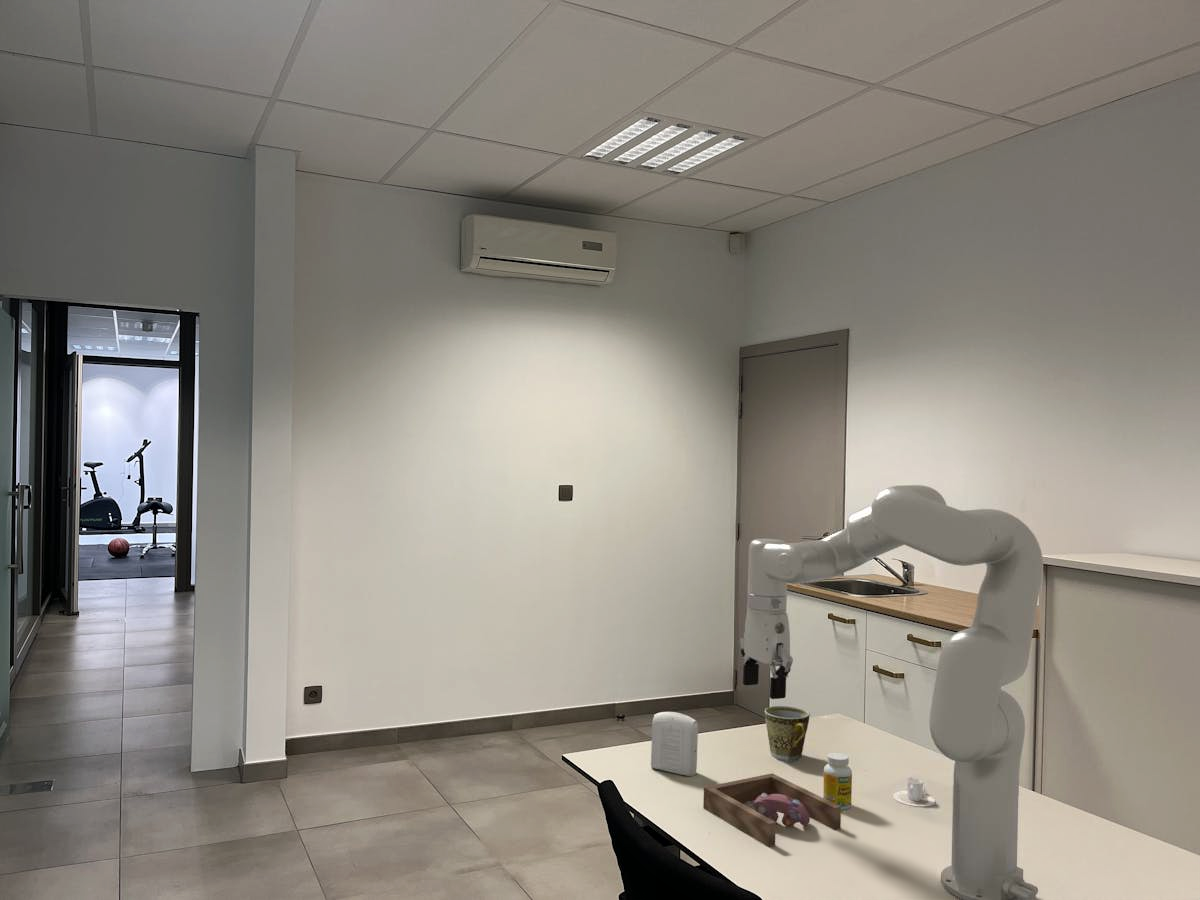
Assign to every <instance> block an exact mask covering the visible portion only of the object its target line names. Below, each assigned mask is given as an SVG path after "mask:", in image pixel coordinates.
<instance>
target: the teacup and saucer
mask: <svg viewBox="0 0 1200 900" xmlns="http://www.w3.org/2000/svg"><path fill="white" fill-rule="evenodd" d="M926 790H927V789H926V787H925V786H924V781H923V780H922V779H919V778H915V777H908V778H906V790H902V791H896V792H895V793H893V795H892V798H893V799H894V800H895V801H897V802H899V803H901V804H902V805H907V806H911V807H916V808H917V807H920V808H925V807H931V806H933V805H935V804H936V799H934V797H932V796H931V795H928V794H926ZM902 795H907V798H908V800H909V801H911V802H920V801H921V800H922V797H923V798H926V800H928V802H927V803H924V804H915V803H910V802H906V801H904V800H903V799H901V798H900V796H902Z"/></svg>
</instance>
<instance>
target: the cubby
mask: <svg viewBox="0 0 1200 900" xmlns="http://www.w3.org/2000/svg"><path fill="white" fill-rule="evenodd" d="M762 793H766V794H767V795H770V794H782V795H785V796H787V797H789V798H791V799H793V800H795V799H796V800H799V802H800V803H802V804H803V805H804V807H805V809H806V810H807V812H808V813H809V816H810V819H813V820H814V821H817V822H818V823H821V824H822V825H824V826H825V827H827V828H830V829H832V830H834V831H836V830H840V829H841V827H842V825H841V824H842V821H841V820H842V810H841V806H839V805H837V804H835V803H833V802H831V801H828V800H826V799H824V798H823V797H822V796H820V795H818V794H815V793H814V792H813V791H809V790H807V789H805V788H803V787H801V786H799V785H798V784H796V783H793V782H791V781H789V780H787V779H785V778H783V777H781V776H779V775H777V774H775V773H767V774H762V775H757V776H752V777H748V778H742V779H739V780H732V781H727V782H724V783H718V784H713V785H709V786H704V787H703V802H702V803H703V806H702V807H703V808H702V809H704V810H705V811H708V813H711V814H712V815H714V816H716V817H718V818H719V819H721V820H723V821H724V822H726V823H728V824H729V825H732V826H733V827H735V828H736V829H738V830H740V831H741V832H743V833H744V834H746V835H748V836H749V837H751V838H753V839H754V840H756V841H757V842H760V843H761V844H763V845H764V846H767V847H768V848H770V847H773V846H776V829H777V828H776V825H777V824H776V823H777V822H775V821H773V820H771V819H769V818H767V817H765V816H764V815H762V814H760V813H758V812H756V811H755V810H754V808H751V807H749V806H747V805H745V804H746V803H750V802H755V800H756V799H757V797H759V796H760V795H762Z"/></svg>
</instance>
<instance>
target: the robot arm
mask: <svg viewBox="0 0 1200 900" xmlns="http://www.w3.org/2000/svg"><path fill="white" fill-rule="evenodd" d="M845 526H846V527H845V528H844V529H842V530H841V531H838V532H835V533H834V534H832V535H829V536H827V537H825V538H822V539H819V540H812V541H800V542H791V543H788V542H786V541H784V540H781V539H778V538H777V539H775V538H756V539H753V540H751V542H750V544H749V545H748V546H749V548H748V568H747V569H748V571H747V596H746V597H747V603H746V610H747V611H746V617H745V621H744V622H745V624H744V632H743V637H741V638H740V639H739V644H740V648H741V650H740V654H741V657H742V660H741V662H742V665H743V667H742V670H743V671H742V684H743V685H744V686H753V685H755V686H757V685H758V684H759V670H760V669H759V668H760V664H759V663H761V664H763V665H765V666H768V667H769V669H770V673H771V675H772V677H770V679H769V698H770V699H771V700H777V699H780V700H781V699H785V698H786V696H787V695H786V693H787V678H788V677H789V673H790V672H791V668H792V665H793V662H794V659H793V657H792V656H791V633H790V622H789V621H790V620H789V617H788V613H787V605H788V604H787V601H788V584H790V585H796V584H799V585H800V584H803V583H804V584H806V583H810V582H817V581H824V580H828V579H831V578H834V577H837V576H839V575H842V574H844V573H846V572H847V573H848V572H849V571H851V570H854V569H856V568H858V567H860V566H863V565H864V564H866V563H867V562H870V561H872V560H873V559H875V558H876V557H879V556H881V555H883V554H885V553H887V552H890V551H892V550H895V549H897V548H899V547H902V546H907V547H909V548H911V549H914V550H916V551H918V552H920V553H923V554H925V555H928V556H930V557H932V558H934V559H937V560H939V561H942V562H945V563H948V564H950V565H954V566H962V567H964V566H965V567H966V566H967V567H968V566H973V565H981V564H985V566H986V572H985V575H984V577H983V580H982V582H981V584H980V588H979V591H978V593H977V594H978V595H977V598H976V599H977V602H976V608H975V613H974V618H973V621H972V624H971V626H970V627H968V628H965V629H962V630H959V631H957V632H956V633H954V634H952V635H951V636H950V637H949V638H948V639H947V641H946V642H945V644H944V645H943V647H942V650H941V652H940V655H939V659H938V663H937V669H936V675H935V680H934V686H933V693H932V699H931V705H930V711H929V722H928V723H929V730H930V732H929V733H930V736H931V738H932V741H933V743H934V745H935V747H936V748H937V749H938V751H939V752H940V753H941V754H942V755H943V756H945V757H946V758H947V759H950V760H952V761H954V766H953V783H952V784H953V786H952V818H951V819H952V823H951V824H952V825H951V828H952V829H951V865H949V866H947V867H945V868H944V869H942V870H941V873H940V883H941V885H942V886H943V888H944V889H945V890H946V891H947V892H949V893H950V894H951V895H953V896H955V897H957V898H958V899H961V900H1036V899H1037V894H1038V893H1039V892H1038V891H1039V889H1038V887H1037V886H1036V885H1034V884H1032V883H1029V882H1026V881H1025V879H1024V869H1023V868H1020V867H1019V866H1018V834H1019V832H1018V831H1019V830H1018V829H1019V795H1020V794H1019V793H1020V769H1021V760H1022V753H1023V746H1024V741H1025V733H1026V721H1025V716H1024V712H1023V709H1022V707H1021V705H1020V703H1018V701H1017V700H1016V699H1015V697H1013V695H1011V694H1009V693H1008V692H1007V691H1005V690H1003V689H1001V687H1004V686H1007V685H1009V684H1011V683H1014V682H1016V681H1017V680H1019V679H1020V678H1021V677H1022V676H1023V675H1024V674H1025V673H1026V670H1027V667H1028V665H1029V660H1030V653H1031V648H1032V641H1033V640H1032V639H1033V635H1034V629H1035V622H1036V617H1037V616H1036V615H1037V608H1038V601H1039V596H1040V592H1041V585H1042V580H1043V572H1044V571H1043V569H1044V561H1043V560H1044V559H1043V558H1044V557H1043V554H1042V553H1043V552H1042V549H1041V547H1040V543H1039V541H1038V540H1037V538H1036V536H1035V534H1034V532H1032V531H1033V530H1031V529H1030V528H1029V527H1028V526H1027V524H1025V523H1024V522H1023V521H1022V520H1021V519H1019V518H1018V517H1016V516H1014V515H1012V514H1011V513H1008V512H1005V511H1003V510H1000V509H994V508H979V509H978V508H977V509H970V510H961V509H958V508H955V507H953V506H949V505H947V502H946V500H945V498H944V497H943V496H942V494H941V492H938V491H937V490H936V489H934V488H933V487H930V486H926V485H923V484H912V485H911V484H910V485H909V484H908V485H907V484H906V485H893V486H888V487H887V488H885V489H883V490H881V491H880V492H879V493H878V494H877V495H876V496H875V498H874V499H873V501H872V504H870V505H868V506H866V507H864V508H862V509H859V510H857V511H855V512H853V513H851V514H850V515H849V516H848V518H847V520H846V525H845ZM758 662H759V663H758ZM776 667H778V669H777V668H776Z"/></svg>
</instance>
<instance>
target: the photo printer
mask: <svg viewBox="0 0 1200 900" xmlns="http://www.w3.org/2000/svg"><path fill="white" fill-rule="evenodd" d="M651 725H652V726H651V750H650V751H651V752H650V755H651V756H650V767H651V768H653V769H655V770H660V771H664V772H668V773H673V774H676V775H683V776H688V777H694V776H696V775H697V767H698V766H697V765H698V743H699V742H698V739H699V738H698V737H699V735H698V734H699V732H698V731H699V724H698V721H697V720H696V719H694V718H692V717H691V716H689V715H687V714H683V713H680V712H675V711H661V712H658V713H656V714H655V713H654V715H653V718H652V724H651Z"/></svg>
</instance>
